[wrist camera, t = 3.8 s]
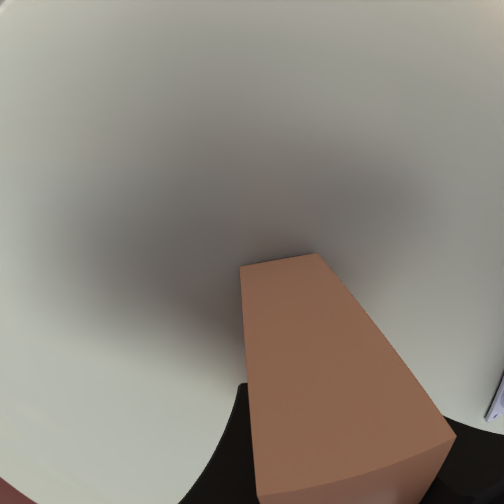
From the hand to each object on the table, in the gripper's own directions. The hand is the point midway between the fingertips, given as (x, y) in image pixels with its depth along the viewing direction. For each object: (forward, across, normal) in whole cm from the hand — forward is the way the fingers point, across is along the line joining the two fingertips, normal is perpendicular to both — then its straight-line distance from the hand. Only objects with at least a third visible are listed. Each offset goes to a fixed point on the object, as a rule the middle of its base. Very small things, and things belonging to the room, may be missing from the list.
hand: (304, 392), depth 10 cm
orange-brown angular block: (+3, 0, 0) cm, 3 cm away
